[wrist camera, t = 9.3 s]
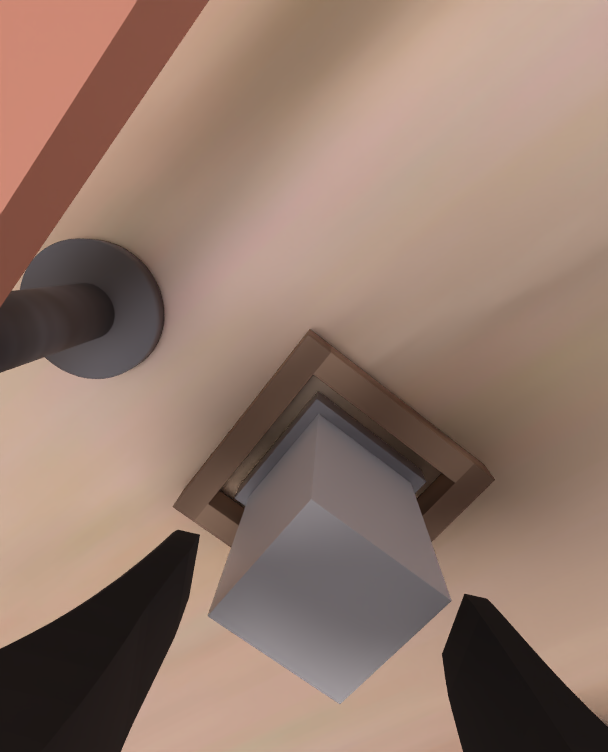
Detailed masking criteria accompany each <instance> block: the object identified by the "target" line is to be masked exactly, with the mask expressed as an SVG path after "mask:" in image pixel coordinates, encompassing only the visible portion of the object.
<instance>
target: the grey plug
mask: <svg viewBox="0 0 608 752" xmlns="http://www.w3.org/2000/svg"><path fill="white" fill-rule="evenodd" d="M425 483H426V480H425V477H424V475H423V473H422V470H421V469H420V468H418V467H417V466H416V465H414V464H413V463H412V462H410V461H409V460H408V459H406V458H405V457H404V456H403V455H401V454H400V453H399V452H397V451H396V450H395V449H393V448H392V447H391V446H389V445H388V444H387V443H385V442H384V441H383V440H381V439H380V438H379V437H378V436H376V435H375V434H374V433H372V432H371V431H370V430H368V429H367V428H366V427H364V426H363V425H362V424H360V423H359V422H358V421H356V420H355V419H354V418H353V417H351V416H350V415H349V414H347V413H346V412H345V411H343V410H342V409H341V408H339V407H338V406H337V405H335V404H334V403H333V402H331V401H330V400H329V399H328V398H326V397H325V396H324V395H322V394H321V393H320V392H318V391H317V392H316V394H315V395H314V396H313V397H312V399H311V400H310V401H309V402H308V403H307V405H306V406H305V407H304V408H303V409H302V411H301V412H300V413H299V414H298V415H297V417H296V418H295V419H294V420H293V422H292V423H291V424H290V425H289V426H288V428H287V429H286V430H285V431H284V432H283V434H282V435H281V436H280V437H279V439H278V440H277V441H276V442H275V443H274V445H273V446H272V447H271V448H270V449H269V451H268V452H267V453H266V454H265V456H264V457H263V458H262V459H261V460H260V462H259V463H258V464H257V465H256V466H255V468H254V469H253V470H252V471H251V473H250V474H249V475H248V476H247V477H246V479H245V480H244V481H243V482H242V483H241V485H240V486H239V488H238V491H237V493H236V496H235V499H236V500H238V501H239V502H241V503H242V504H243V505H245V509H244V512H243V515H242V518H241V521H240V524H239V527H238V529H237V532H236V535H235V538H234V541H233V544H232V547H231V550H230V553H229V555H228V558H227V561H226V564H225V567H224V570H223V573H222V576H221V579H220V581H219V584H218V587H217V590H216V593H215V596H214V599H213V602H212V604H211V607H210V610H209V613H208V617H210V618H211V619H213V620H214V621H216V622H217V623H219V624H220V625H222V626H223V627H225V628H226V629H228V630H229V631H231V632H232V633H234V634H235V635H237V636H238V637H240V638H241V639H243V640H244V641H246V642H247V643H249V644H250V645H252V646H253V647H255V648H256V649H258V650H259V651H261V652H262V653H264V654H265V655H267V656H268V657H270V658H271V659H273V660H274V661H276V662H277V663H279V664H280V665H282V666H283V667H285V668H286V669H288V670H289V671H291V672H292V673H294V674H295V675H297V676H298V677H300V678H301V679H303V680H304V681H306V682H307V683H309V684H310V685H312V686H313V687H315V688H316V689H318V690H319V691H321V692H322V693H324V694H325V695H327V696H328V697H330V698H331V699H333V700H334V701H336V702H337V703H339V704H341V703H342V702H343V701H344V700H345V699H346V698H347V697H348V696H349V695H350V694H352V693H353V692H354V691H355V690H356V689H357V688H358V687H359V686H360V685H361V684H362V683H363V682H364V681H366V680H367V679H368V678H369V677H370V676H371V675H372V674H373V673H374V672H375V671H376V670H377V669H378V668H380V667H381V666H382V665H383V664H384V663H385V662H386V661H387V660H388V659H389V658H390V657H391V656H393V655H394V654H395V653H396V652H397V651H398V650H399V649H400V648H401V647H402V646H403V645H404V644H405V643H407V642H408V641H409V640H410V639H411V638H412V637H413V636H414V635H415V634H416V633H417V632H418V631H420V630H421V629H422V628H423V627H424V626H425V625H426V624H427V623H428V622H429V621H430V620H431V619H432V618H434V617H435V616H436V615H437V614H438V613H439V612H440V611H441V610H442V609H443V608H444V607H445V606H447V605H448V604H449V603H450V602H451V598H450V595H449V592H448V589H447V586H446V583H445V580H444V577H443V574H442V572H441V569H440V566H439V563H438V560H437V557H436V554H435V551H434V548H433V545H432V543H431V540H430V537H429V534H428V531H427V528H426V525H425V522H424V519H423V516H422V514H421V511H420V508H419V505H418V502H417V499H416V496H415V493H416V492H417V491H418V490H419V489H420V488H421V487H422V486H423V485H424V484H425Z"/></svg>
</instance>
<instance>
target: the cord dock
mask: <svg viewBox="0 0 608 752" xmlns="http://www.w3.org/2000/svg"><path fill="white" fill-rule="evenodd" d="M163 322H164V307H163V301H162V297H161V293H160V290H159V288H158V285H157V283H156V281H155V279H154V278H153V276H152V274H151V273H150V271H149V270H148V269H147V267H146V266H145V265H144V264H143V263H142V262H141V261H140V260H139V259H138V258H137V257H136V256H134V255H133V254H132V253H130V252H129V251H127V250H126V249H124V248H122V247H120V246H118V245H116V244H113V243H110V242H107V241H102V240H93V239H68V240H63V241H60V242H57V243H54V244H52V245H50V246H48V247H47V248H45V249H44V250H42V251H41V252H40V253H39V254H38V255H37V256H36V257H35V258H34V259H33V260H32V261H31V263H30V264H29V266H28V267H27V269H26V271H25V274H24V276H23V279H22V282H21V287H20V290H16V291H11V292H10V294H9V295H8V297H7V298H6V299H5V301H4V302H3V304H2V305H1V307H0V373H1V372H4V371H6V370H9V369H12V368H15V367H18V366H21V365H23V364H26V363H29V362H32V361H35V360H38V359H40V358H43V357H45V358H46V359H47V360H49V361H50V362H51V363H52V364H54V365H55V366H57V367H58V368H60V369H61V370H63V371H66V372H68V373H70V374H73V375H76V376H79V377H83V378H90V379H104V378H110V377H114V376H117V375H120V374H122V373H124V372H126V371H128V370H130V369H131V368H133V367H135V366H137V365H138V364H140V363H141V362H143V361H144V360H145V359H146V358H147V357H148V356H149V355H150V354H151V352H152V351H153V350H154V348H155V346H156V345H157V343H158V341H159V338H160V336H161V333H162V329H163ZM312 375H315V376H316V377H317V378H318V379H320V380H321V381H322V382H324V383H325V384H326V385H328V386H329V387H330V388H332V389H333V390H334V391H335V392H337V393H338V394H339V395H341V396H342V397H343V398H345V399H346V400H347V401H349V402H350V403H351V404H352V405H354V406H355V407H356V408H358V409H359V410H360V411H362V412H363V413H364V414H366V415H367V416H368V417H369V418H371V419H372V420H373V421H375V422H376V423H377V424H379V425H380V426H381V427H383V428H384V429H385V430H386V431H388V432H389V433H390V434H392V435H393V436H394V437H396V438H397V439H398V440H400V441H401V442H402V443H403V444H405V445H406V446H407V447H409V448H410V449H411V450H413V451H414V452H415V453H417V454H418V455H419V456H420V457H422V458H423V459H424V460H426V461H427V462H428V463H430V464H431V465H432V466H434V467H435V468H436V469H437V470H439V471H440V472H441V473H442V474H441V475H440V476H439V477H438V478H437V479H436V480H435V481H434V482H433V483H432V484H431V485H430V486H429V487H428V488H427V489H426V490H425V492H424V493H423V494H422V495H421V496H420V497H419V498H418V499H417V502H418V505H419V508H420V511H421V514H422V516H423V519H424V522H425V525H426V528H427V531H428V534H429V537H430V540H431V542H432V541H433V540H434V539H435V538H436V537H437V536H438V535H439V534H440V533H441V532H442V531H443V530H444V529H445V528H446V527H447V526H448V525H449V524H450V523H451V522H452V521H453V520H454V519H455V518H456V517H457V516H458V515H460V514H461V513H462V512H463V511H464V510H465V509H466V508H467V507H468V506H469V505H470V504H471V503H472V502H473V501H474V500H475V499H476V498H477V497H478V496H479V495H480V494H481V493H482V492H483V491H484V490H485V489H486V488H487V487H488V486H489V485H490V484H491V483H492V482H493V481H494V480H495V479H494V478H493V476H492V475H491V474H490V472H489V471H488V469H487V468H486V467H485V465H484V464H482V463H481V462H480V461H479V460H477V459H476V458H475V457H473V456H472V455H471V454H470V453H468V452H467V451H466V450H464V449H463V448H462V447H461V446H459V445H458V444H457V443H455V442H454V441H453V440H452V439H450V438H449V437H448V436H446V435H445V434H444V433H443V432H441V431H440V430H439V429H437V428H436V427H435V426H434V425H432V424H431V423H430V422H428V421H427V420H426V419H425V418H423V417H422V416H421V415H419V414H418V413H417V412H416V411H414V410H413V409H412V408H410V407H409V406H408V405H407V404H405V403H404V402H403V401H401V400H400V399H399V398H398V397H396V396H395V395H394V394H392V393H391V392H390V391H389V390H387V389H386V388H385V387H383V386H382V385H381V384H380V383H378V382H377V381H376V380H374V379H373V378H372V377H371V376H369V375H368V374H367V373H365V372H364V371H363V370H362V369H360V368H359V367H358V366H356V365H355V364H354V363H353V362H351V361H350V360H349V359H347V358H346V357H345V356H344V355H342V354H341V353H340V352H338V351H337V350H336V349H335V348H333V347H332V346H331V345H329V344H328V343H327V342H326V341H324V340H323V339H322V338H320V337H319V336H318V335H317V334H315V333H314V332H313V331H311V330H309V331H308V332H307V333H306V335H305V336H304V337H303V339H302V340H301V341H300V342H299V344H298V345H297V346H296V347H295V349H294V350H293V351H292V353H291V354H290V355H289V356H288V358H287V359H286V360H285V361H284V363H283V364H282V365H281V367H280V368H279V369H278V370H277V372H276V373H275V374H274V375H273V377H272V378H271V379H270V381H269V382H268V383H267V384H266V386H265V387H264V388H263V390H262V391H261V392H260V393H259V395H258V396H257V397H256V398H255V400H254V401H253V402H252V404H251V405H250V406H249V407H248V409H247V410H246V411H245V412H244V414H243V415H242V416H241V418H240V419H239V420H238V421H237V423H236V424H235V425H234V426H233V428H232V429H231V430H230V432H229V433H228V434H227V435H226V437H225V438H224V439H223V440H222V442H221V443H220V444H219V446H218V447H217V448H216V449H215V451H214V452H213V453H212V454H211V456H210V457H209V458H208V460H207V461H206V462H205V463H204V465H203V466H202V467H201V469H200V470H199V471H198V472H197V474H196V475H195V476H194V477H193V479H192V480H191V481H190V483H189V484H188V485H187V486H186V488H185V489H184V490H183V491H182V493H181V495H180V496H179V498H178V499H177V501H176V502H175V504H174V506H173V507H174V508H175V509H176V510H178V511H179V512H181V513H182V514H184V515H185V516H187V517H188V518H189V519H191V520H192V521H194V522H195V523H197V524H198V525H200V526H201V527H202V528H204V529H205V530H207V531H208V532H210V533H211V534H212V535H214V536H215V537H217V538H218V539H220V540H221V541H223V542H224V543H225V544H227V545H228V546H230V547H232V544H233V541H234V538H235V535H236V532H237V529H238V527H239V524H240V521H241V518H242V515H243V512H244V508H243V507H241V506H240V505H238V504H237V503H236V502H234V501H233V500H231V499H230V498H229V497H227V496H226V495H224V494H223V493H222V492H220V491H219V490H220V489H221V487H222V486H223V485H224V484H225V482H226V481H227V480H228V479H229V477H230V476H231V475H232V474H233V473H234V471H235V470H236V469H237V468H238V466H239V465H240V464H241V463H242V461H243V460H244V459H245V458H246V457H247V455H248V454H249V453H250V452H251V450H252V449H253V448H254V447H255V445H256V444H257V443H258V442H259V440H260V439H261V438H262V437H263V436H264V434H265V433H266V432H267V431H268V429H269V428H270V427H271V426H272V424H273V423H274V422H275V421H276V420H277V418H278V417H279V416H280V415H281V413H282V412H283V411H284V410H285V408H286V407H287V406H288V405H289V404H290V402H291V401H292V400H293V399H294V397H295V396H296V395H297V394H298V392H299V391H300V390H301V389H302V388H303V386H304V385H305V384H306V383H307V381H308V380H309V379H310V378H311V376H312Z"/></svg>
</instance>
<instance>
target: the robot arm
mask: <svg viewBox="0 0 608 752" xmlns="http://www.w3.org/2000/svg"><path fill="white" fill-rule="evenodd" d="M199 537H200V535H199V534H194V533H190V532H185V531H181V530H176V531H175V532H173V533H172V534H171V535H170V536H169V537H168V538H166V539H165V540H164V541H163V542H162V543H161V544H160V545H159V546H158V547H156V548H155V549H154V550H153V551H152V552H151V553H149V554H148V555H147V556H146V557H145V558H144V559H142V560H141V561H140V562H139V563H137V564H136V565H135V566H134V567H132V568H131V569H130V570H128V571H127V572H126V573H125V574H123V575H122V576H121V577H120V578H118V579H117V580H115V581H114V582H113V583H111V584H110V585H108V586H107V587H106V588H104V589H103V590H101V591H100V592H99V593H97V594H96V595H94V596H93V597H91V598H90V599H88V600H87V601H85V602H84V603H82V604H81V605H79V606H78V607H76V608H75V609H73V610H71V611H70V612H68V613H66V614H65V615H63V616H61V617H60V618H58V619H56V620H55V621H53V622H51V623H49V624H47V625H46V626H44V627H42V628H40V629H38V630H36V631H35V632H33V633H31V634H29V635H27V636H25V637H23V638H21V639H19V640H17V641H15V642H13V643H11V644H9V645H7V646H5V647H3V648H1V649H0V752H121V750H122V747H123V745H124V743H125V740H126V738H127V736H128V733H129V731H130V729H131V727H132V724H133V722H134V720H135V718H136V716H137V714H138V712H139V710H140V708H141V706H142V704H143V702H144V700H145V698H146V695H147V693H148V691H149V689H150V687H151V685H152V683H153V681H154V679H155V677H156V675H157V673H158V671H159V669H160V667H161V664H162V662H163V660H164V658H165V656H166V654H167V652H168V650H169V648H170V646H171V644H172V641H173V639H174V637H175V635H176V632H177V629H178V627H179V624H180V621H181V619H182V616H183V613H184V610H185V607H186V604H187V602H188V599H189V594H190V588H191V583H192V577H193V571H194V566H195V560H196V554H197V549H198V543H199ZM442 657H443V665H444V672H445V679H446V685H447V691H448V697H449V701H450V705H451V709H452V712H453V716H454V720H455V724H456V727H457V731H458V735H459V738H460V742H461V746H462V749H463V752H608V727H607V726H606V725H605V724H604V723H603V722H602V721H601V720H600V719H599V718H598V717H597V716H596V715H595V714H594V713H593V712H592V711H591V710H590V709H589V708H588V707H587V706H586V705H585V704H584V703H583V702H582V701H581V700H580V699H579V698H578V697H577V696H576V695H575V694H574V693H573V692H572V691H571V690H570V689H569V688H568V687H567V686H566V685H565V684H564V683H563V682H562V681H561V679H560V678H559V677H558V676H557V675H556V674H555V673H554V672H553V671H552V670H551V669H550V668H549V667H548V666H547V664H546V663H545V662H544V661H543V660H542V659H541V658H540V657H539V656H538V654H537V653H536V652H535V651H534V650H533V649H532V648H531V647H530V646H529V644H528V643H527V642H526V641H525V640H524V639H523V638H522V637H521V635H520V634H519V633H518V632H517V631H516V630H515V629H514V627H513V626H512V625H511V624H510V623H509V622H508V621H507V620H506V618H505V617H504V616H503V615H502V614H501V613H500V612H499V611H498V610H497V609H496V607H495V606H494V605H493V604H492V603H491V602H490V601H489V600H488V599H486V598H481V597H477V596H472V595H468V594H464V597H463V599H462V602H461V605H460V607H459V610H458V613H457V615H456V618H455V621H454V623H453V626H452V629H451V631H450V634H449V637H448V640H447V642H446V645H445V648H444V650H443V653H442Z"/></svg>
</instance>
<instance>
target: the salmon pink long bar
mask: <svg viewBox="0 0 608 752" xmlns="http://www.w3.org/2000/svg"><path fill="white" fill-rule="evenodd" d="M208 1H209V0H0V307H1V305H2V304H3V302H4V301H5V299H6V298H7V297H8V295H9V294H10V292H11V291H12V289H13V288H14V286H15V285H16V283H17V282H18V280H19V279H20V277H21V276H22V274H23V273H24V272H25V270H26V269H27V267H28V266H29V264H30V263H31V261H32V260H33V258H34V257H35V255H36V254H37V252H38V251H39V249H40V248H41V247H42V245H43V244H44V242H45V241H46V239H47V238H48V236H49V235H50V233H51V232H52V230H53V229H54V227H55V226H56V225H57V223H58V222H59V220H60V219H61V217H62V216H63V214H64V213H65V211H66V210H67V208H68V207H69V205H70V204H71V202H72V201H73V200H74V198H75V197H76V195H77V194H78V192H79V191H80V189H81V188H82V186H83V185H84V183H85V182H86V180H87V179H88V177H89V176H90V175H91V173H92V172H93V170H94V169H95V167H96V166H97V164H98V163H99V161H100V160H101V158H102V157H103V155H104V154H105V152H106V151H107V150H108V148H109V147H110V145H111V144H112V142H113V141H114V139H115V138H116V136H117V135H118V133H119V132H120V130H121V129H122V128H123V126H124V125H125V123H126V122H127V120H128V119H129V117H130V116H131V114H132V113H133V111H134V110H135V108H136V107H137V105H138V104H139V103H140V101H141V100H142V98H143V97H144V95H145V94H146V92H147V91H148V89H149V88H150V86H151V85H152V83H153V82H154V80H155V79H156V78H157V76H158V75H159V73H160V72H161V70H162V69H163V67H164V66H165V64H166V63H167V61H168V60H169V58H170V57H171V56H172V54H173V53H174V51H175V50H176V48H177V47H178V45H179V44H180V42H181V41H182V39H183V38H184V36H185V35H186V33H187V32H188V31H189V29H190V28H191V26H192V25H193V23H194V22H195V20H196V19H197V17H198V16H199V14H200V13H201V11H202V10H203V8H204V7H205V6H206V4H207V3H208Z"/></svg>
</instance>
